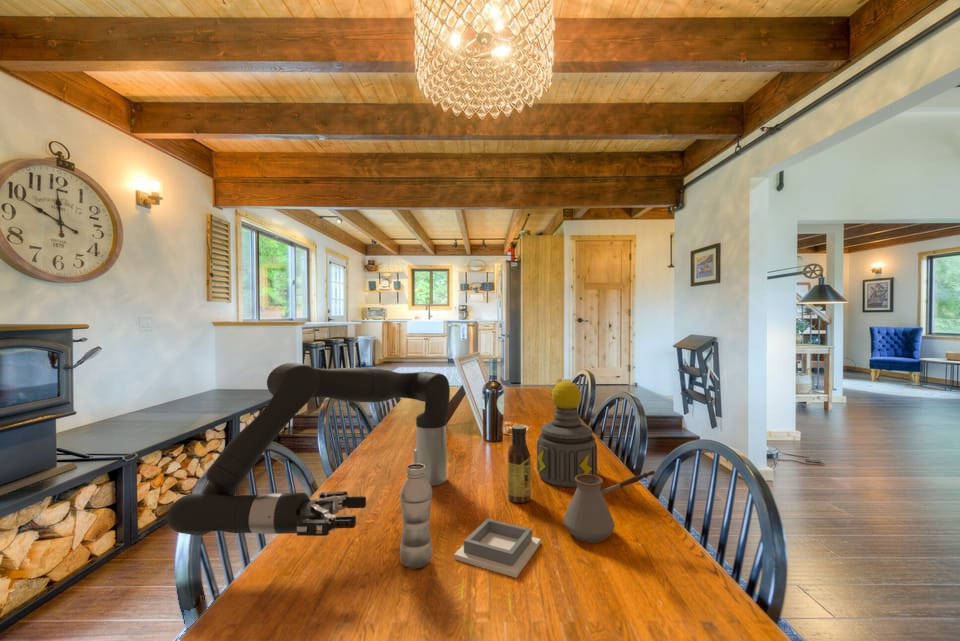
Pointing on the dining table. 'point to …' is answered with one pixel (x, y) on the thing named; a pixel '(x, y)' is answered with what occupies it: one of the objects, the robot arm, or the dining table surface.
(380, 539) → the dining table surface
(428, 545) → the plastic bottle
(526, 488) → the sauce bottle
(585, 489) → the coffee pot
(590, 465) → the decorative lamp
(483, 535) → the bottle holder
